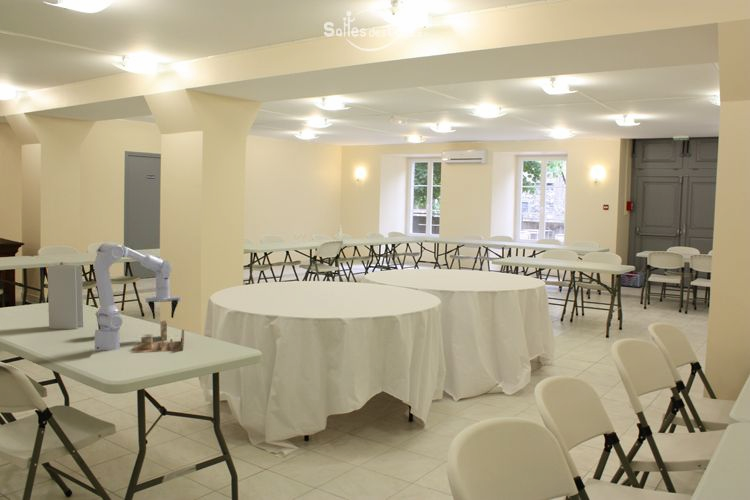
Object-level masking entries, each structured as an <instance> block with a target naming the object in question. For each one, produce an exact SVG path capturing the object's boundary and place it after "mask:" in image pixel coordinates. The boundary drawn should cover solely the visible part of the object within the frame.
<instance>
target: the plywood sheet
mask: <svg viewBox="0 0 750 500" xmlns="http://www.w3.org/2000/svg"><path fill="white" fill-rule="evenodd" d="M159 320H160V321H159V322H160V324H159V325H160V336H161V337H160V338H161V340H163V339H164V342H166V341H168V337H167V336H168V334H167V332H168V330H167V327H168V325H167V321H166V319H164V318H163V319H159Z"/></svg>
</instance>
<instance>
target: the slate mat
mask: <svg viewBox="0 0 750 500" xmlns="http://www.w3.org/2000/svg"><path fill="white" fill-rule="evenodd" d="M168 337H169V335H167V338H168ZM176 337H179V334H177V335H176ZM153 338H161V335H158V336H153Z"/></svg>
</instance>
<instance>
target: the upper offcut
mask: <svg viewBox="0 0 750 500" xmlns="http://www.w3.org/2000/svg"><path fill="white" fill-rule="evenodd" d="M153 338H154V336H153V334H150V333H149V334H146V333H145V334H142V335H141V338H140V341H141V342H140V343H152V340H153V341H154V339H153Z"/></svg>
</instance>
